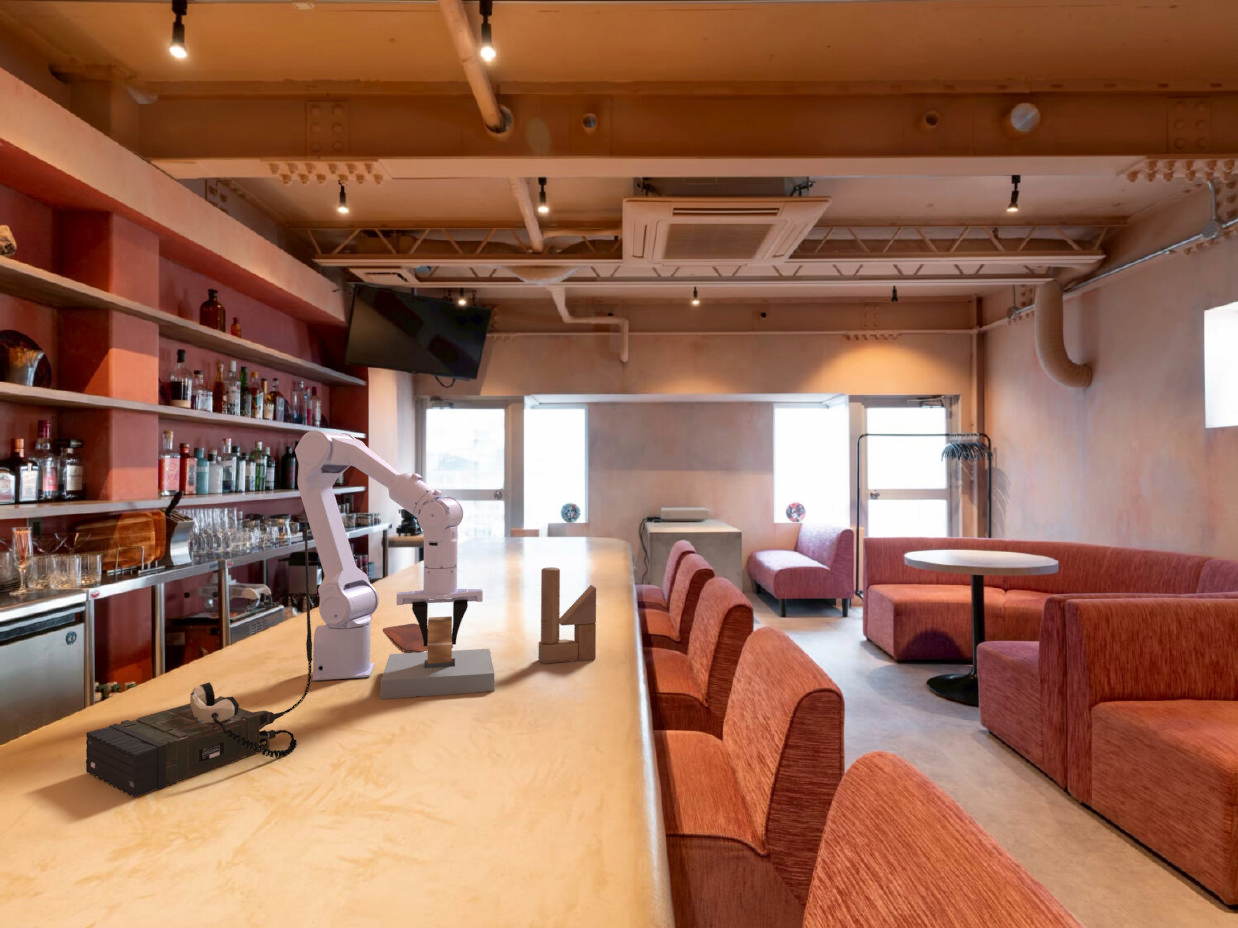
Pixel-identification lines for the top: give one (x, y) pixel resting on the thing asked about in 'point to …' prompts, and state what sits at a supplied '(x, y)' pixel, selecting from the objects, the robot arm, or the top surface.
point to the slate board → (437, 674)
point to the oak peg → (439, 639)
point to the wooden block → (566, 622)
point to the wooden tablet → (407, 637)
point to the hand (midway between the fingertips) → (439, 643)
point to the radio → (185, 737)
